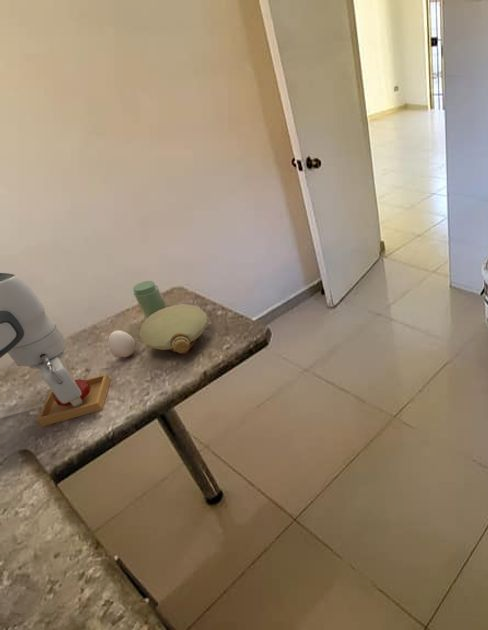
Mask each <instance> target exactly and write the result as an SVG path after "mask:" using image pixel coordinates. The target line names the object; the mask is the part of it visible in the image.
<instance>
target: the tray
mask: <svg viewBox="0 0 488 630" xmlns="http://www.w3.org/2000/svg"><path fill="white" fill-rule="evenodd" d="M84 380H85V381H86V382H87V384H88V385H89V386H90V388H91V390H90V392H89V394H88V395H87V396H86V397H85V398H84V399H82V401H83V402H82V404H80V405H78V406H73V405H68V406H60V405H58V404H57V403H56V401H55V400H54V399H53V397H52V395H53V391H52V390H51V389H50V390H49V392H48V394H47V396H46V398H45V401H44V403H43V405H42V407H41V409H40V411H39V413H38V416H37V418H36V421H37V422H38V424H39V425H40V426H41V427H43V428H44V427H46V426H49V425H53V424H56V423H57V424H58V423H60V422H64V421H68V420H71V419H74V418H78V417H81V416H86V415H88V414H92V413H95V412H98V411H102V410H103V408H104V405H105V401H106V398H107V395H108V392H109V388H110V384H111V381H112V379H111V378H110V377H109V374H107V373H104V374H100V375H97V376H93V377H89V378H85V379H84Z"/></svg>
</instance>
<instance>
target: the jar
mask: <svg viewBox="0 0 488 630" xmlns="http://www.w3.org/2000/svg"><path fill="white" fill-rule="evenodd" d="M132 290H133V296H134V298H135V300H136V302H137V303H138V305H139V308H140V309H141V311H142V313H143V315H144V318H145V320H146V319H147V318H148V317H149V316H151V315H152V314H154V313H155V312H157V311H159V310H161V309H164V308H166V307H168V305H167V302H166V300H165V298H164V296H163V295H162V292H161V290H160V288H159V286H158V285H157V284H156V283H155V282H154V281H153V280H146V281H142V282H139V283H137V284H136V285H135V284H134V286H133V288H132Z"/></svg>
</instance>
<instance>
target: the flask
mask: <svg viewBox="0 0 488 630" xmlns="http://www.w3.org/2000/svg"><path fill="white" fill-rule="evenodd" d="M207 327H208V313H206V312H205V311H204V310H203V309H202V308H200V307H199V306H198V305H195V304H186V303H181V304H174V305H170V306H167V307H166V308H164V309H161V310H159V311H157V312H155V313H154V314H152V315H151V316H149V317H148V318H147V319H146V318H145V320H144V321H143V322H142V323H141V324H140V327H139V328H140V329H139V339H140V340H141V342H142V343H143V344H145V345H146V346H147V347H148V348H152V349H155V350H163V351H166V350H169V351H172V352H175V353H179V354H182V355H186V354H188V353H189V351H190V349H191V348H192V347H193V346H194V344H195V343H196V341H197V339H198V338H199V337H200V336H201V335H202V333H203V332H204V331H205V330H206V329H207Z"/></svg>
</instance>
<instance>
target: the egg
mask: <svg viewBox="0 0 488 630" xmlns="http://www.w3.org/2000/svg"><path fill="white" fill-rule="evenodd" d="M107 344H108V347H109V350H110V352H111V353H112V354H113V355H115V356H117V357H119V358H128V357H130V356H132V355H133V354H134V353H135V351H136V341H135V340H134V338H133V337H132V335H130V334H129V333H127V332H125V331H124V330H114V331H112V332H111V333H110V334H109V336H108V340H107Z"/></svg>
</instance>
